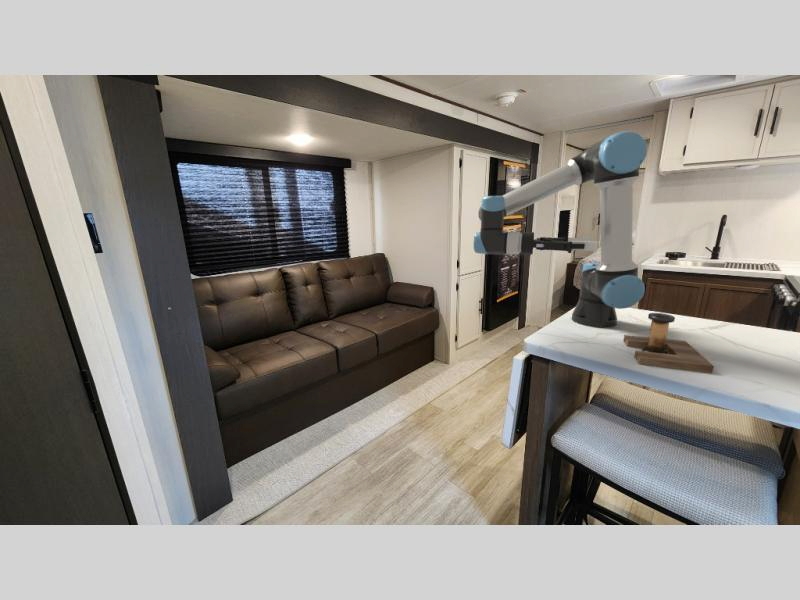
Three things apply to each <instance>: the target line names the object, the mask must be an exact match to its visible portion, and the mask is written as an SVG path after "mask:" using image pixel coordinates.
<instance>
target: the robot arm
mask: <svg viewBox="0 0 800 600" xmlns="http://www.w3.org/2000/svg"><path fill="white" fill-rule="evenodd" d="M647 152H648V145H647V142H646V140H645V138H644V137H643V136H642V135H640V134H639V133H637V132H635V131H630V130H628V131H626V130H624V131H620V132H616V133H613V134H611V135H609V136H608V137H606V138H604V139H602V140H600V141H597V142H596V143H594V144H592V145H591V146H589V147H588V148H587V149H585V150H583V151H582V152H581V153H579V154H577V155H575V156H574V157H572V158H570V159H568V160H567V163H566V164H564V165H562V166H560V167H558V168H556V169H554V170H552V171H550V172H548V173H546V174H544V175H542V176H540V177H537V178H536V179H534V180H531V181H529V182H527V183H525V184H523V185H521V186H519V187H518V188H515V189H513V190H511V191H508V192H507V193H504V194H503V195H486V196H483V197H482V199H481V205H480V206H479V207H480V208H479V210H478V214H477V215H478V218H479V220H480V231H478V232H475V233H474V237H473V250H474V253H476V254H480V255H481V254H483V255H509V256H510V257H512V256H514V255H519V254H521V255H523V256H524V255H525V256H527V255H529V256H531V255H533V253H534V249H535V250H537V251H560V252H567V253H568V254H572V252H575V251H577V252H581V251H582V252H583V251H585V252H588V251H589V252H597V251H598V243H599V241H591V239H592V238H591V237H569V235H564V236H562V237H551V236H550V237H547V236H541V237H537V238H536V239H535V232H534V231H524V232H521V231H506V232H505V231H504V223H505V222H504V221H505V220H504V219H505V217H507V216H510V215H511V214H514V213H516V212H518V211H520V210H523V209H524V208H528V207H529V206H531V205H533V204H535V203H537V202H539V201H542V200H544V199H546V198H549V197H550V196H552V195H554V194H557V193H559V192H560V191H564V190H565V189H567V188H569V187H572V186H574V185H575V186H580V185H583V184H584V183H585V184H586V183H587V182H591V181H593V185H594V186H595V187H597V189H598V190H599V223H600V224H599V225H600V262H590V263H589V262H588V263H587V262H586V263H584V265H583V267H582V270H581V278H580V279H581V281H580V289H579V297H578V302H577V303H576V306H575V307H574V308H573V309H574V310H573V312H571V313H572V315H571V320H572V321H573V322H574V321H575V322H574V323H576V322H577V324H579V325H582V326H586V327H591V328H602V329H603V328H605V329H606V328H612V327H613V328H614V327H616V326H617V324H618V317H617V315H618V314H617V311H616V309H620V310H622V309H627V308H631V307H633V306H635V305H636V304H637V303H639V302H640V301H641V300H642V298H643V297H644V294H645V290H646V287H645V284H644V282H643V280H642V279H641V278H640V277H639V266H638V264H637V263H636V262H635V261H633V195H634V194H633V191H634V188H633V185H634V183H635V182H636V181H637V180H638V179H639V177H640V166H641V165H642V164H643V162H644V161H645V160H646V157H647Z"/></svg>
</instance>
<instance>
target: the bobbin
mask: <svg viewBox="0 0 800 600" xmlns="http://www.w3.org/2000/svg"><path fill="white" fill-rule="evenodd" d="M647 318H648V319H649V320H650V321H651V323H650V329H649V332H648V334H649V335H648V337H649V338H648V344H647V347H644V348H641V351H644V352H653V353H662V354H669V353H668V352H667V351H666V350H664V347H665V342H666V339H667V336H668V332H669V327H670V323H674V322H675V320H676V317H675V315H672V314H667V313H662V312H650V313H648V316H647Z"/></svg>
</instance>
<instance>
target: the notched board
mask: <svg viewBox="0 0 800 600" xmlns="http://www.w3.org/2000/svg"><path fill="white" fill-rule="evenodd" d="M648 338H649V336H648V337H647V336H640V335H639V336H638V335H629V334H628V335H627V334H624V336H623V342H624V344H625V345H626V347H629V348H630V347H631V348H641V349H642V348H644V347H647V344H648ZM664 350H665V351H666V352H667V353H668V354H662V353H653V352H644V351H642V350H634V357H633V358H634V359H635V360H636V361H637V363H638V364H639V365H645V366H653V367H659V368H660V367H661V368H668V369H677V370H685V371H693V372H698V373H699V372H700V373H707V374H713V371H714V367H715V366H714V365H713V363H711V362H710V361H709V360H708V359H707V358H705V357H704V356H703V355H702V354H701V353H699V351H698V350H696V349H695V348H694V347H693V346H692V345H691V344H689V343H688V342H687V341H686V340H681V339H671V338H670V339H669V338H666V342H665V347H664Z"/></svg>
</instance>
